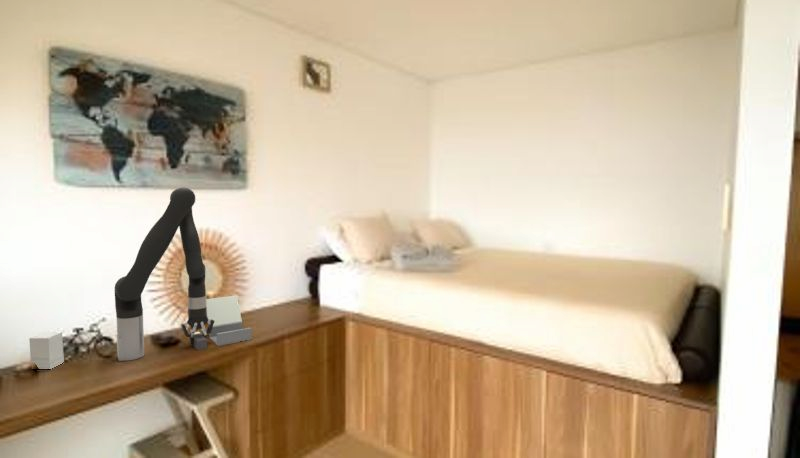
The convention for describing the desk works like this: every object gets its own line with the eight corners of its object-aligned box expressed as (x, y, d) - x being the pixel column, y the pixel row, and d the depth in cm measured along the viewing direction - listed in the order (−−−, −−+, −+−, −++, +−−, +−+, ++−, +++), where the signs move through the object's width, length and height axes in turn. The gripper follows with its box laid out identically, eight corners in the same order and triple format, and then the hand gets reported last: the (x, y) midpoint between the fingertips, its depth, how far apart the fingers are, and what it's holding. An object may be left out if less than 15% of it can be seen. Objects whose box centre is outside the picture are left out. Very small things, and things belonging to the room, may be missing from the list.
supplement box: (64, 363, 173) (63, 331, 173) (49, 370, 166) (48, 338, 165) (46, 363, 173) (44, 331, 173) (30, 370, 166) (28, 337, 165)
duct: (217, 346, 194) (217, 334, 194) (209, 338, 205) (209, 326, 204) (251, 339, 203) (251, 328, 203) (242, 332, 214) (241, 321, 214)
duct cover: (205, 299, 209) (204, 300, 210) (209, 326, 204) (208, 327, 205) (237, 295, 218) (236, 295, 219) (241, 321, 214) (241, 321, 214)
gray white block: (197, 350, 189) (196, 341, 188) (189, 341, 200) (189, 333, 199) (207, 348, 191) (207, 339, 191) (199, 340, 202) (199, 331, 202)
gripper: (181, 310, 187) (182, 349, 188) (216, 305, 195) (217, 343, 197) (177, 307, 193) (179, 345, 194) (211, 302, 201) (212, 339, 203)
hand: (198, 344), depth 195 cm, fingers closed on gray white block, 4 cm apart
